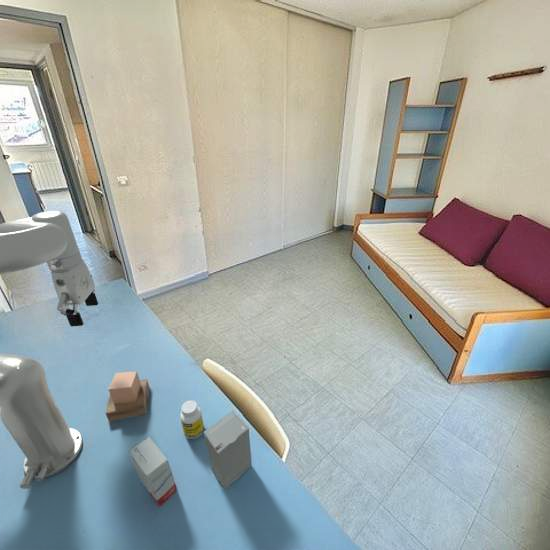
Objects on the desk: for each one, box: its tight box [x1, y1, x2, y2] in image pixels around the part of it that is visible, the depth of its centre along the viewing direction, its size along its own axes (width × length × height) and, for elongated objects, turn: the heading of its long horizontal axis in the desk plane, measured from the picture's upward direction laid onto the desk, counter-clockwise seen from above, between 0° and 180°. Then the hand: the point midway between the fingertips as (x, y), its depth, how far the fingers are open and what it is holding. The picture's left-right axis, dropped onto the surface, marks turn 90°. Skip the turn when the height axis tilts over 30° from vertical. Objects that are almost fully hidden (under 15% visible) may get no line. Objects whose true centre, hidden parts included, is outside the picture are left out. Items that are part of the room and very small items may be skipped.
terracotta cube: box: [108, 370, 141, 404], centre depth 89 cm, size 6×6×6 cm
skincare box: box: [203, 410, 252, 490], centre depth 70 cm, size 8×7×16 cm
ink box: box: [129, 436, 178, 507], centre depth 68 cm, size 9×5×12 cm, turn 48°
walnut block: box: [105, 378, 150, 423], centre depth 91 cm, size 10×10×4 cm
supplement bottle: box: [179, 400, 205, 440], centre depth 81 cm, size 5×5×10 cm
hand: (85, 314), depth 86 cm, fingers open, 9 cm apart
